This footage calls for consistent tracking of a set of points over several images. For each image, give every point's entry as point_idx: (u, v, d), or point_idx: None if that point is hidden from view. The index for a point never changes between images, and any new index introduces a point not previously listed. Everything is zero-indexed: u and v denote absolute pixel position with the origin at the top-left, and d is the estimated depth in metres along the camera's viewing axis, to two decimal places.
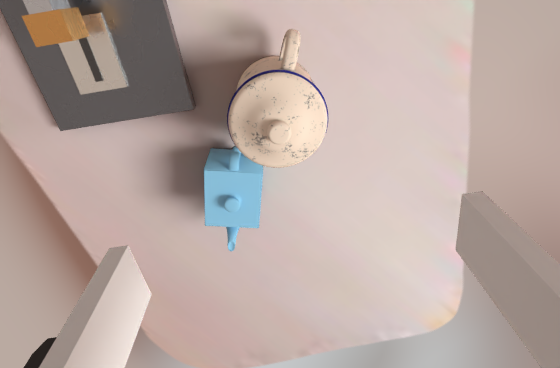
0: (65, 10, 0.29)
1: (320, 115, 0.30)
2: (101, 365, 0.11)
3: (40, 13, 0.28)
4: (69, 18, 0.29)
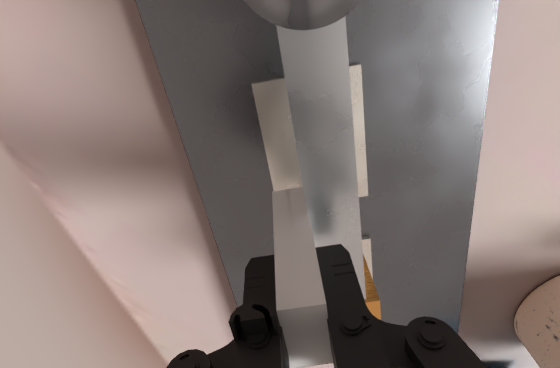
0: None
1: None
2: None
3: None
4: None
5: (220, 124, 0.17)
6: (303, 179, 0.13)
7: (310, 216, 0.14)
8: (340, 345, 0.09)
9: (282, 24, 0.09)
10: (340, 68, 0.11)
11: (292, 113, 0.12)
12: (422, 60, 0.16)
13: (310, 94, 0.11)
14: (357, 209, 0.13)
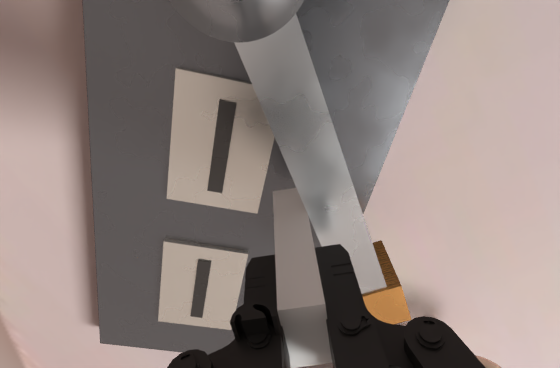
0: None
1: None
2: None
3: (365, 296, 0.16)
4: None
5: (133, 94, 0.16)
6: (295, 180, 0.13)
7: (310, 214, 0.14)
8: (339, 345, 0.09)
9: (233, 39, 0.10)
10: (304, 66, 0.11)
11: (268, 119, 0.12)
12: (340, 109, 0.17)
13: (281, 97, 0.11)
14: (355, 200, 0.13)
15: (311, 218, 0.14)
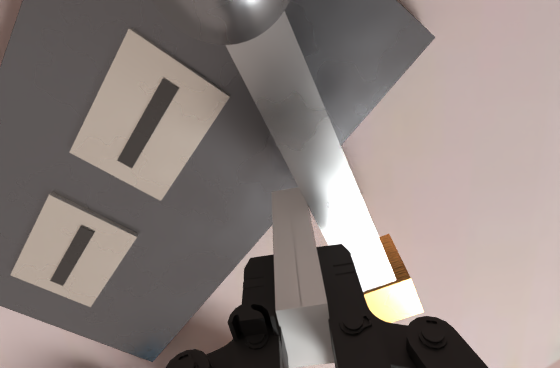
0: None
1: None
2: None
3: (375, 291, 0.16)
4: None
5: (72, 34, 0.15)
6: (296, 178, 0.13)
7: (314, 212, 0.14)
8: (341, 345, 0.09)
9: (223, 42, 0.10)
10: (297, 64, 0.11)
11: (265, 119, 0.12)
12: None
13: (276, 97, 0.11)
14: (358, 194, 0.13)
15: (315, 215, 0.14)
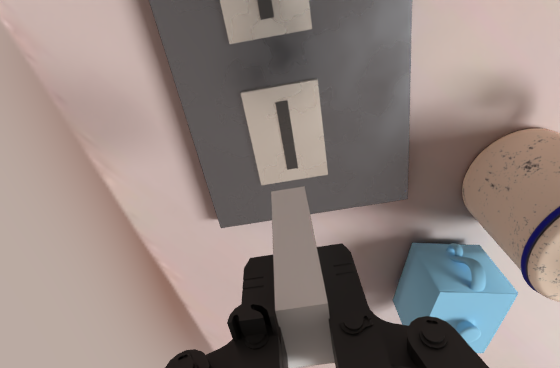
0: None
1: None
2: None
3: None
4: None
5: None
6: None
7: None
8: (341, 344, 0.09)
9: None
10: None
11: None
12: None
13: None
14: None
15: None
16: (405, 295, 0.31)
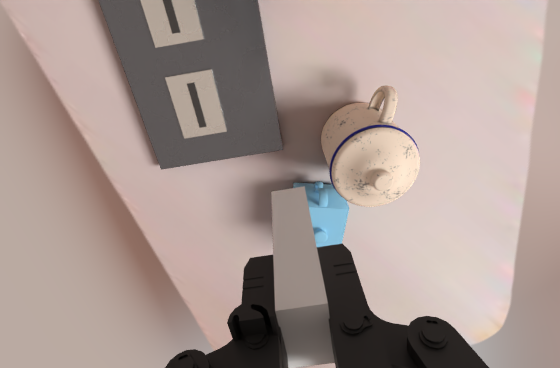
0: None
1: (415, 163, 0.34)
2: None
3: None
4: None
5: None
6: None
7: None
8: (341, 344, 0.09)
9: None
10: None
11: None
12: None
13: None
14: None
15: None
16: None
